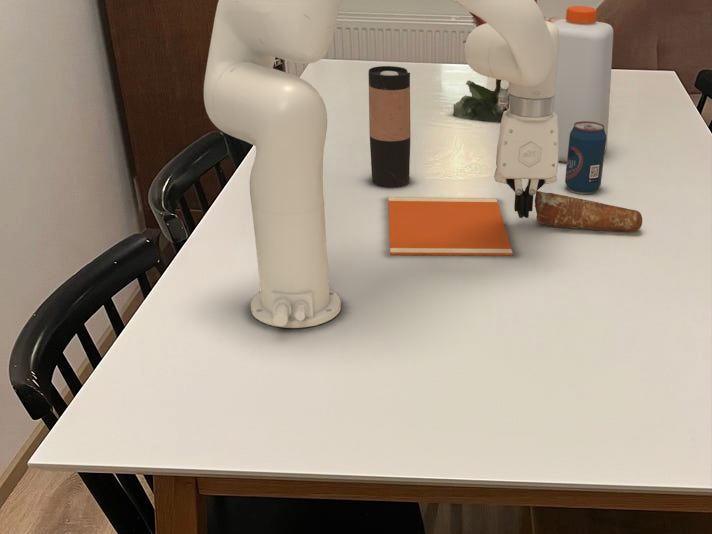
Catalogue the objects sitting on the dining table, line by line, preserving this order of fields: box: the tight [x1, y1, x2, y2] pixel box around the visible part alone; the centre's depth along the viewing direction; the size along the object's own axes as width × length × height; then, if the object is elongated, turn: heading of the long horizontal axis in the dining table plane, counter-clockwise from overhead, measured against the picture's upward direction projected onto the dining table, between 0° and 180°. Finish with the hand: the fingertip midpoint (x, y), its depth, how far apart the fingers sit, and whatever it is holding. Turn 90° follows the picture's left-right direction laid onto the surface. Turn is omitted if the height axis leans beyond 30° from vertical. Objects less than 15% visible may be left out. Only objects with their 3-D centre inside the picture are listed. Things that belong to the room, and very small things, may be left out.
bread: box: [534, 190, 643, 232], centre depth 161 cm, size 6×19×6 cm, turn 82°
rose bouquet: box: [452, 0, 562, 123], centre depth 216 cm, size 26×29×30 cm
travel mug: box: [368, 65, 412, 188], centre depth 172 cm, size 8×8×20 cm
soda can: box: [564, 121, 608, 195], centre depth 176 cm, size 7×7×12 cm
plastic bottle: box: [553, 5, 614, 163], centre depth 190 cm, size 15×15×28 cm
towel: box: [388, 196, 514, 257], centre depth 161 cm, size 26×20×1 cm
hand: (522, 215), depth 161 cm, fingers closed
